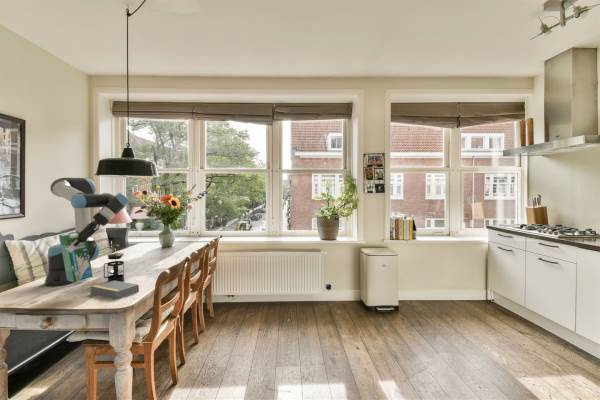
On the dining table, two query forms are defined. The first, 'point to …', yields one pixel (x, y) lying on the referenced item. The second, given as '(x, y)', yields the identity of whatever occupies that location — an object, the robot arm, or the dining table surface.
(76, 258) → the milk carton
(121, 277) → the french press
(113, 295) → the plate
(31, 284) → the dining table surface
